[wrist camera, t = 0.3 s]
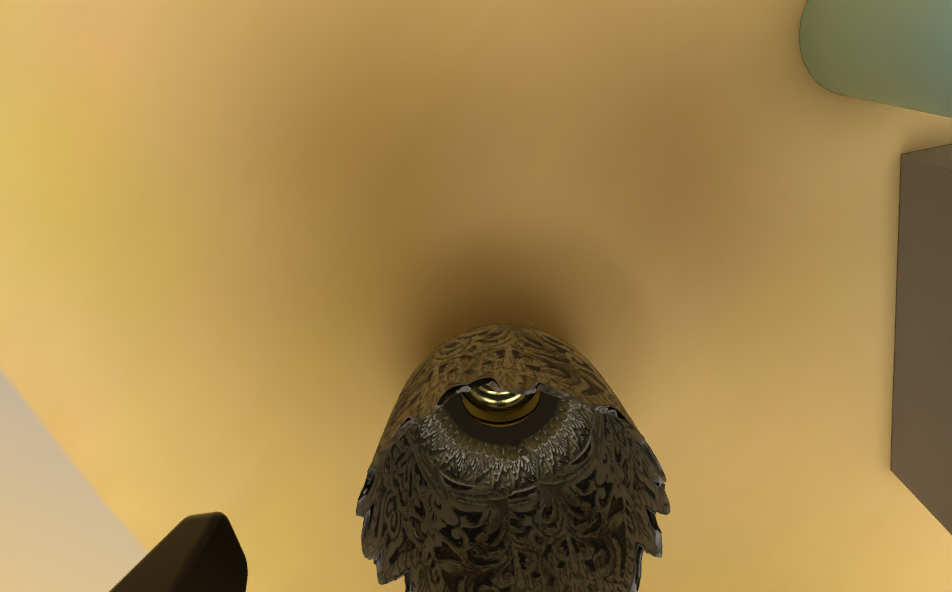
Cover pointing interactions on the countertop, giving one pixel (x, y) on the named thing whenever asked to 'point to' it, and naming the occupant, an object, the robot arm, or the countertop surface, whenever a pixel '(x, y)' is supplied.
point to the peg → (882, 50)
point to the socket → (924, 332)
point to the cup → (511, 474)
